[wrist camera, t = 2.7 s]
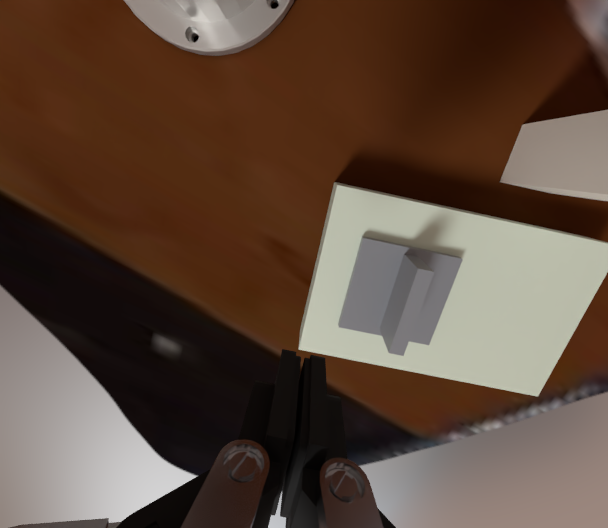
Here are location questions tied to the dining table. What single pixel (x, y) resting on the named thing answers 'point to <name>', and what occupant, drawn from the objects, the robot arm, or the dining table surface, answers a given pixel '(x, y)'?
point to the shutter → (398, 292)
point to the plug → (562, 156)
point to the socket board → (460, 290)
